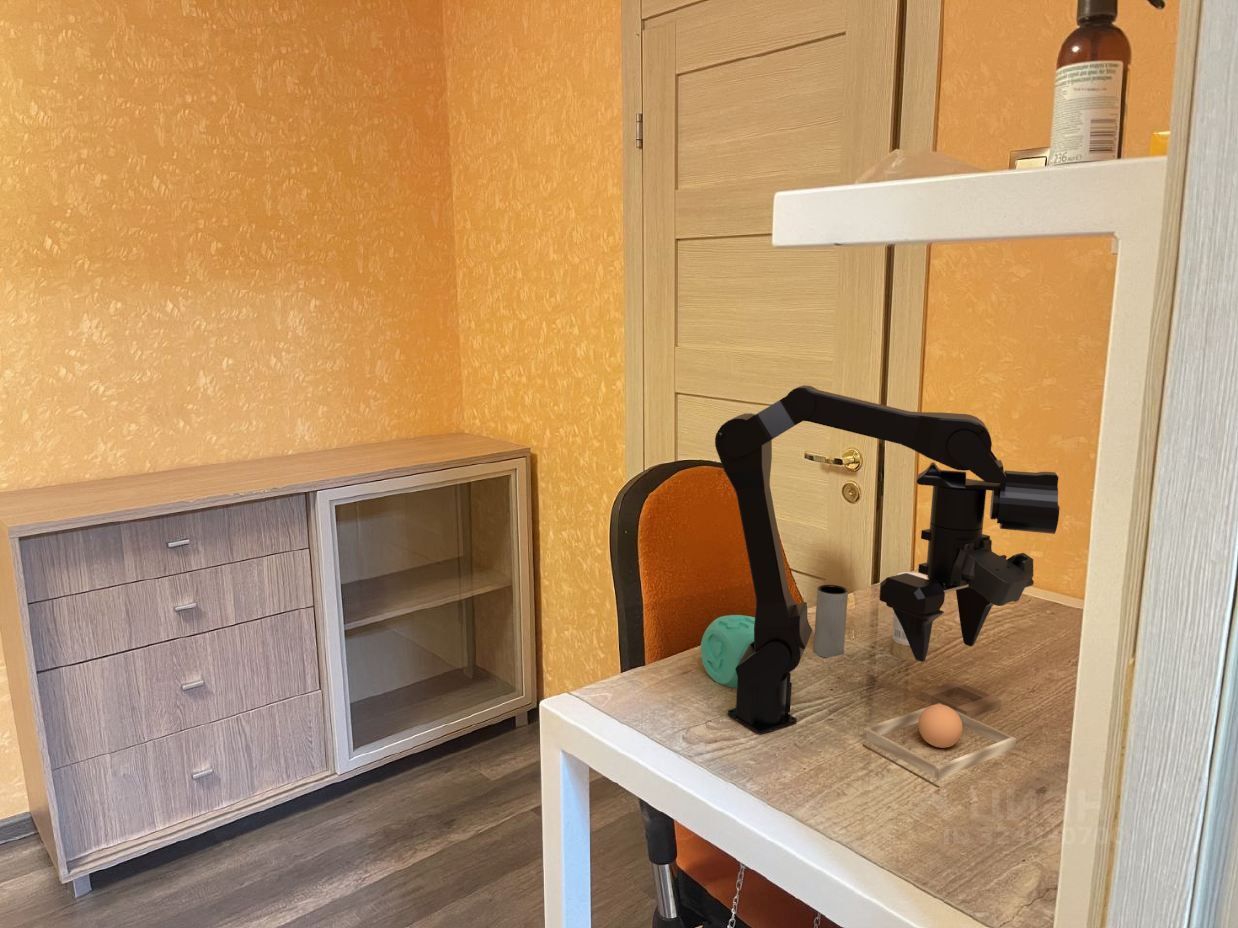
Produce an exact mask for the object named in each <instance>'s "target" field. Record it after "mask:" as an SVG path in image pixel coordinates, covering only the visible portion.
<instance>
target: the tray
mask: <svg viewBox="0 0 1238 928" xmlns="http://www.w3.org/2000/svg"><path fill="white" fill-rule="evenodd" d="M938 704H941V703H938ZM941 705H943V704H941ZM927 707H928V706H927ZM927 707H924V708H921V709H918V710H917V709H916V710H915V711H911V712H909V713H906V714H903V715H899V716H896V717H894V718H891V719H887V720H885V721H882V722H879V723H876V724H873V725H869V726H867V727H864V728H863V734H862V739H863V740H864V741H866V742H868V743H870V744H871V745H873V746H876V747H877V748H879V749H881V750H883V751H885V752H887V753H888V754H890V755H892V756H894V757H896V758H898V759H899V760H902V761H903V762H905V763H907V764H908V765H911V766H912V767H914V768H916V769H917V770H919V771H921V772H923V773H925V774H926V775H929V776H930V777H932V778H934V779H936V780H937V781H940V780H942V779H945V778H947V777H949V776H952V775H954V774H956V773H960V772H962V771H964V770H967V769H970V768H972V767H974V766H977V765H980V764H982V763H984V762H987V761H988V760H992V759H994V758H996V757H999V756H1001V755H1004V754H1007V753H1009V752H1012V751H1014V750H1016V747H1017V740H1018V739H1017V738H1016V737H1014V736H1012V735H1011V734H1008V733H1006V732H1003V731H1001V730H999V729H997V728H995V727H992V726H990V725H988V724H986V723H984V722H982V721H980V720H978V719H976V718H973V717H972V718H971V717H969V716H967V715H964V714H962V713H960V712H958V711H956V710H954V709H953V710H954V711H955V712H956V713H957V714H958V715H959V717H960V719H961V721H962V726H963V727H964V728H966V729H967V730H970V731H972V732H974V733H976V734H978V735H980V736H982V737H985V738H986V739H989V740H991V741H992V742H995V743H993V744H990V745H988V746H985V747H983V748H980V749H978V750H975V751H972V752H970V753H968V754H967V753H966V754H965V755H962V756H960V757H957V758H954V759H953V760H949V761H947V762H944V763H941V764H939V765H938V764H936V763H935V762H933V761H931V760H929V759H927V758H925V757H923V756H921V755H919V754H918V753H916V752H914V751H912V750H910V749H908V748H906V747H904V746H903V745H901V744H899V743H897V742H895V741H893V740H891V739H889V738H887V737H885V736H883V735H886V734H889V733H892V732H895V731H899V730H901V729H905V728H907V727H909V726H912V725H913V726H914V725H915V724H918V721H919V717H920V715H921V713H922V712H923V711H924V710H925V709H926V708H927ZM862 747H863V748H865V749H867V750H869V751H871V752H873V753H874V754H876V755H878V756H880V757H882V758H883V759H885V760H887V761H889V762H891V763H892V764H895V765H896V766H898V767H899V768H902V769H903V770H905V771H907V772H909V773H910V774H913V775H914V776H915V777H917V778H919V779H921V780H923V781H925V782H926V783H928V784H930V785H931V786H934V787H935V788H937V789H938V788H940V787H941V786H939V784H937V783H934V782H933V781H931V780H929V779H927V778H925V777H923V776H922V775H920V774H918V773H916V772H915V771H912V769H911V770H910V769H909V768H908V767H905V766H903V765H902V764H901V763H898V762H896V761H895V760H894V759H892V758H889V757H887V756H885V755H884V754H882V753H880V752H878V751H877V750H875V749H873V748H871V747H870V746H867V745H865V744H864V743H862Z"/></svg>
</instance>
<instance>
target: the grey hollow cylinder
mask: <svg viewBox="0 0 1238 928" xmlns="http://www.w3.org/2000/svg"><path fill="white" fill-rule="evenodd" d="M816 589H817V591H816V606H815V621H814V636H813V637H814V639H813V653H814V652H815V653H816V654H817V656H818V655H819V657H821V656H822V657H821V658H824V657H825V658H826V659H828V658H833V657H836V656H840V655H844V653H845V641H846V627H847V626H846V624H847V610H848V598H849V597H848V595H849V590H848V589H847V588H846V587H844V586H842V585H838V584H837V585H836V584H822V585H819V586H818V587H817V588H816ZM815 653H814V654H815ZM816 654H815V655H816Z"/></svg>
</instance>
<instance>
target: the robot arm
mask: <svg viewBox="0 0 1238 928" xmlns="http://www.w3.org/2000/svg"><path fill="white" fill-rule="evenodd" d="M803 422H810V423H813V424H816V425H821V426H825V427H829V428H834V429H838V430H842V431H845V432H849V433H854V434H858V435H861V436H864V437H865V436H866V437H870V438H874V439H878V440H881V441H886V442H891V443H893V444H898V445H901V446H904V447H905V448H908V449H911V450H912V451H914V452H916V453H918V454H920V455H922V456H924V457H925V458H928V459H930V460H932V462H930V463H929V466H927V468H926V469H925V470H923V471H922V472H920V473H919V474H917V476H916V477H917V478H916V484H917V485H918V486H919V485H920V486H931V487H932V497H931V506H930V507H931V508H930V519H929V520H930V522H929V528H926V529H921V533H920V539H921V540H925V541H927V542H928V543H927V544H928V545H927V557H926V562H923V563H919V564H918V570H917V573H919V574H922V575H924V576H927V578H928V579H924V578H921V577H918V576H914V575H911V574H908V573H904V574H900V575H897V574H896V575H891V576H888V577H886V578H885V579H884V580H882V581H881V582H880V583H879V584H880V585H879V594H878V595H879V597H878V599H879V601H880V602H882V603H885V604H886V606H887V607H888V608H891V609H892V610H893V613H894V612H895V614H896V616H897V618H898V620H899V622H900V624H901V626H902V628H903V631H904V633H905V635H906V638H907V640H908V643H909V645H910V647H911V650H912V652H913V655H914V657H915V659H916V660H915V661H918V662H921V663H923V662H925V661H926V658H927V655H928V652H929V645H930V640H931V639H930V638H931V633H932V628H933V624H934V623H933V622H934V621H935V620H937V619H939V617H941V616H942V615H943V614H944V613H945V611H943V610H941V608H942V606H943V605H944V603H945V597H946V593H950V592H955V594H956V603H957V607H958V608H957V609H958V615H959V622H960V631H961V636H962V639H963V641H962V642H963V644H964V645H966V646H968V647H973V646H974V645H975V643H976V641H977V639H978V637H979V635H980V632H981V630H982V628H983V626H984V624H985V622H986V619H987V617H988V615H989V614H990V612H991V610H992V607H993V606H996V607H1001V606H1005V605H1006V604H1008V603H1013V602H1014V603H1018V601H1019V600H1020V598H1021V597H1022V594H1023V592H1024V591H1025V589H1026V588H1029V587H1032V586H1034V583H1035V582H1034V579H1033V578H1034V559H1033V558H1032V557H1031V556H1029V555H1028V554H1026V553H1024V552H1020V553H1016V554H1013V555H1011V556H1010V557H1008V556H1007V555H1006V554H1002V555H999V554H997V553H996V552H994V551H993V550H992V545H993V540H992V539H991V535H988V534H983V530H984V527H983V526H984V519H985V518H984V517H985V507H986V499H987V498H986V497H987V491H991V495H990V497H991V498H990V506H989V507H990V509H989V518H990V520H995V521H996V524H999V529H1000V530H1009V531H1019V532H1028V533H1029V532H1032V533H1043V534H1052V535H1054V534H1056V531H1057V528H1058V524H1059V519H1060V517H1059V516H1060V506H1059V487H1058V485H1059V476H1058V475H1057V473H1056V472H1053V471H1039V472H1031V471H1030V472H1029V471H1018V470H1017V471H1015V470H1007V469H1006V470H1005V469H1004V465H1003V462H1002V460H1001V459H998V457H996V455H995V454H994V453H993V451H992V447H993V446H992V444H993V443H992V442H993V441H992V438H991V434H990V432H989V429H988V428H987V426H986V424H985V423H984V422H983V421H982V419H980V418H979V417H977V416H975V415H972V414H967V413H955V412H939V411H938V412H937V411H935V412H933V411H932V412H931V411H925V412H923V411H920V412H919V411H910V410H905V409H901V408H896V407H891V406H888V405H884V404H880V403H875V402H871V401H867V400H863V399H858V398H855V397H850V396H847V395H846V396H845V395H843V394H838V393H834V392H828V391H825V390H820V389H817V388H815V387H814V386H812V385H805V384H804V385H800V386H797V387H796V388H793V389H792V390H791V391H789V392H788V393H787V395H786V396H784V397H783V398H781V399H779V400H777V401H776V402H774V403H773V404H771V405H769V406H768V407H765V408H764V409H762V410H761V411H758V412H757V413H756V414H754V413H751V412H750V413H742V414H740V415H737V416H735V417H733V418H730V419H729V420H727V421H726V422H725V423H723V424H722V425H721V426H720V427H719V429H718V430H717V432H716V433H715V438H714V445H715V446H714V447H715V450H716V453H717V455H718V458H719V460H720V463H721V466H722V469H723V471H724V474H725V476H726V477H727V479H728V480H729V482H730V484H731V486H732V487H733V490H734V491H735V494H736V498H737V504H738V508H739V515H740V520H741V521H740V522H741V527H742V529H743V530H742V531H743V535H744V537H743V538H744V541H745V548H746V552H747V558H748V562H749V568H750V574H751V579H752V584H753V589H754V596H755V600H756V601H755V603H756V604H755V612H754V614H755V615H754V617H755V624H754V641H753V642H752V643H751V644H749V646H748V648H747V650H746V651H745V653H744V655H743V656H742V658H741V660H740V661H739V663H738V665H737V667H736V673H737V676H738V678H737V688H736V702H735V703H736V704H735V707H734V708H732V709H729V710H727V716H728V717H731V718H732V719H734V720H735V721H737V722H738V723H741V725H743V726H745V727H747V728H749V729H750V730H752V731H753V732H755V733H757V734H759V735H761V734H762V735H763V734H765V733H768V732H769V733H770V732H772V731H775V730H779V729H781V728H785V727H788V726H791V725H795V724H797V721H798V718H797V717H795V716H793V715H791V714H790V713H791V704H792V703H791V702H792V686H793V683H792V682H791V672H793V671H794V670H796V668H797V667H798V666H799V664H800V662H801V660H802V657H803V655H804V652H805V649H806V648H807V645H808V643H809V640H810V639H811V636H812V633H813V628H812V627H811V625H810V622H809V618H808V603H807V602H806V601H803V602H800V603H796V601H795V600H794V597H793V596H792V594H791V592H790V589H789V582H788V578H787V573H786V567H785V561H784V556H783V551H782V545H781V541H780V535H779V529H778V524H777V518H776V513H775V507H774V501H773V497H772V496H773V495H772V490H771V485H770V483H771V470H772V461H773V456H772V455H773V452H772V451H773V450H772V449H773V448H772V447H773V444H772V441H773V440H774V439H775V438H777V437H779V436H781V435H782V434H783V433H785V432H787V431H788V430H791V429H792V428H793V427H795V426H797V425H799V424H801V423H803ZM933 461H935V462H933ZM937 462H938V463H939V464H941V465H944V466H946V467H949V468H950V469H954V470H948V469H947V470H946V469H941V468H940V467H938V465H937V464H936V463H937ZM966 471H969V472H971V473H972V474H974V475H975V476H977V477H978V478H979V479H981V480H978V479H971V478H967V472H966Z"/></svg>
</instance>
